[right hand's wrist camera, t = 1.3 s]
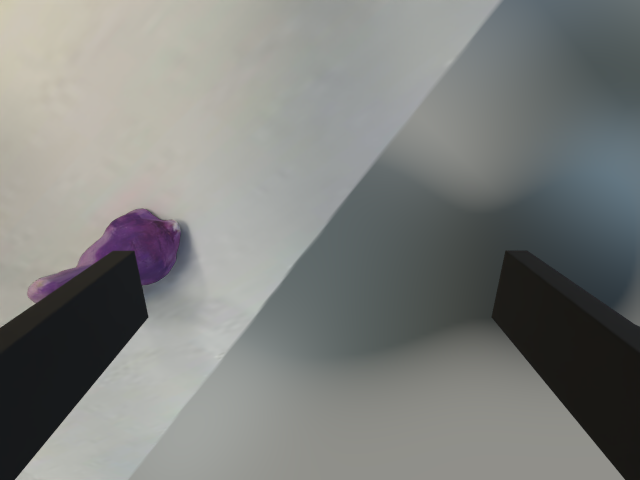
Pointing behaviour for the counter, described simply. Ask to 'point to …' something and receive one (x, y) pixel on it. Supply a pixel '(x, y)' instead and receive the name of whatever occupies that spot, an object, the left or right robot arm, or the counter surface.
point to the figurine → (124, 235)
